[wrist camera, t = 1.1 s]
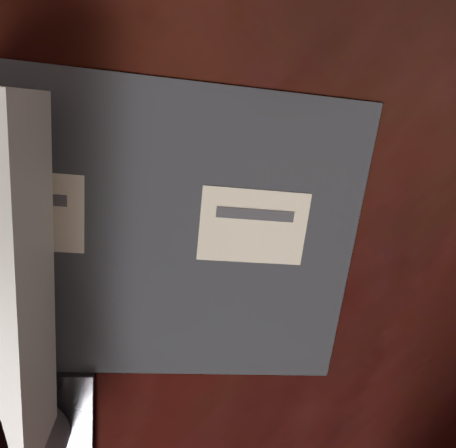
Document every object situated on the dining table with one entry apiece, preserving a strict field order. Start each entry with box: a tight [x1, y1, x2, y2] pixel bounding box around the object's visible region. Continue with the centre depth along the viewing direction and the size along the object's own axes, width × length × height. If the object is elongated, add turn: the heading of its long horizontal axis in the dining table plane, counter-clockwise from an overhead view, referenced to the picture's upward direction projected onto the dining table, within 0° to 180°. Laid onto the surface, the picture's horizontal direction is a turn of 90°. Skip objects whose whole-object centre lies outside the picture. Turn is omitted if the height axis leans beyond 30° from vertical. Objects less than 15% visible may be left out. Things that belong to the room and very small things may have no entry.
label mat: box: [0, 58, 383, 376], centre depth 18 cm, size 20×14×1 cm
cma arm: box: [0, 86, 71, 448], centre depth 15 cm, size 4×18×4 cm, turn 174°
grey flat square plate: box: [56, 372, 94, 448], centre depth 20 cm, size 6×6×1 cm
